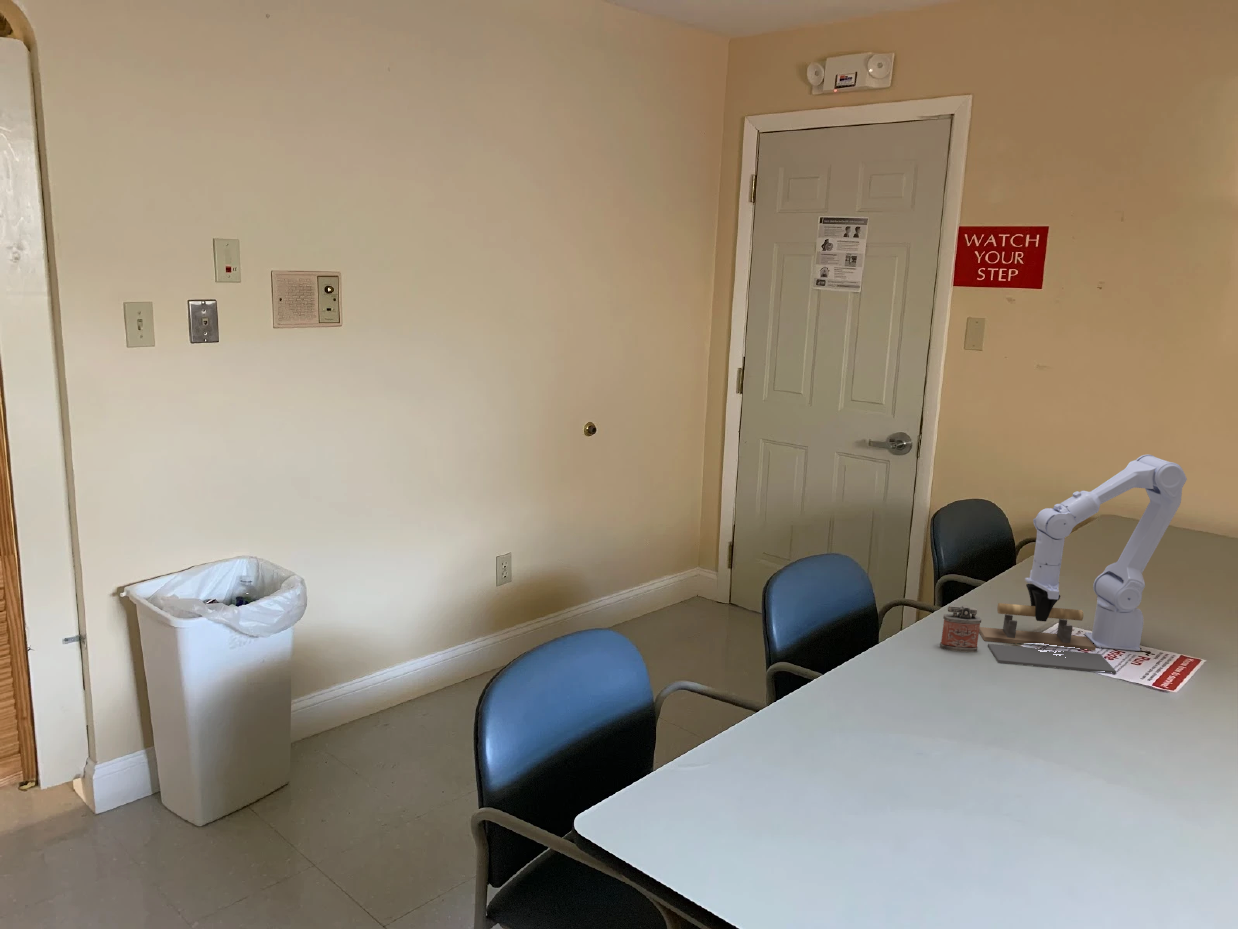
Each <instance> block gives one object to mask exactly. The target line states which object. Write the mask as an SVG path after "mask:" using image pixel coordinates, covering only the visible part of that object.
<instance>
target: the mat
mask: <svg viewBox="0 0 1238 929" xmlns="http://www.w3.org/2000/svg"><path fill="white" fill-rule="evenodd" d="M987 648H988V649H989V651H990V650H991V651H990V652H991V653H992V655H993V657H994V658H995V660H996V661H998V662H999V663H998V662H997V663H998V664H1008V665H1009V664H1010V665H1017V664H1023V665H1022V666H1027V665H1033V666H1032V667H1038V666H1041V667H1040V668H1048V667H1056V668H1055V669H1059V668H1064V669H1063V670H1069V669H1071V670H1070V671H1081V672H1090V671H1105V672H1112V673H1116V674H1117V670H1116V669H1114V667H1113V666H1112V665H1111V664H1110V663H1109V662H1108V660H1106V658H1105V657H1104V656H1103V655H1102V654H1101V653H1093V652H1081V651H1070V650H1062V651H1061V652H1058V651H1057V652H1056V653H1054V652H1055V651H1054V652H1049V651H1047V652H1040V651H1038V650H1042V649H1043V648H1041V649H1038V648H1039V647H1031V646H1030V647H1028V646H1017V645H1008V644H997V643H995V644H994V643H988V644H987ZM1035 648H1037V649H1035ZM1044 649H1045V650H1052V649H1051V648H1044ZM1063 651H1064V652H1063ZM1053 654H1064V655H1061V656H1059V655H1057V656H1056V655H1053ZM1065 657H1066V658H1065Z"/></svg>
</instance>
